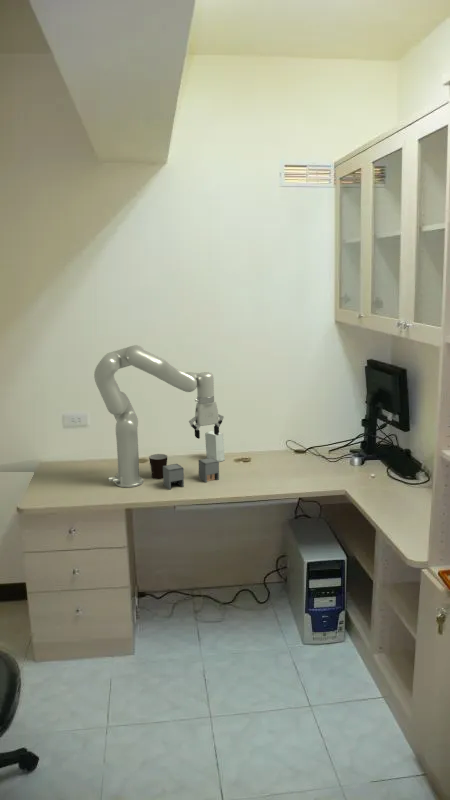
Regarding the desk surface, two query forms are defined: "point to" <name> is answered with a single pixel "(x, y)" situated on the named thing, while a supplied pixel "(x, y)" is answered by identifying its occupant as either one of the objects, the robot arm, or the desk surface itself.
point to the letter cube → (210, 477)
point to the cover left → (173, 475)
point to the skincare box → (215, 446)
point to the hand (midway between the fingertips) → (207, 436)
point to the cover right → (208, 468)
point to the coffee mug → (157, 465)
